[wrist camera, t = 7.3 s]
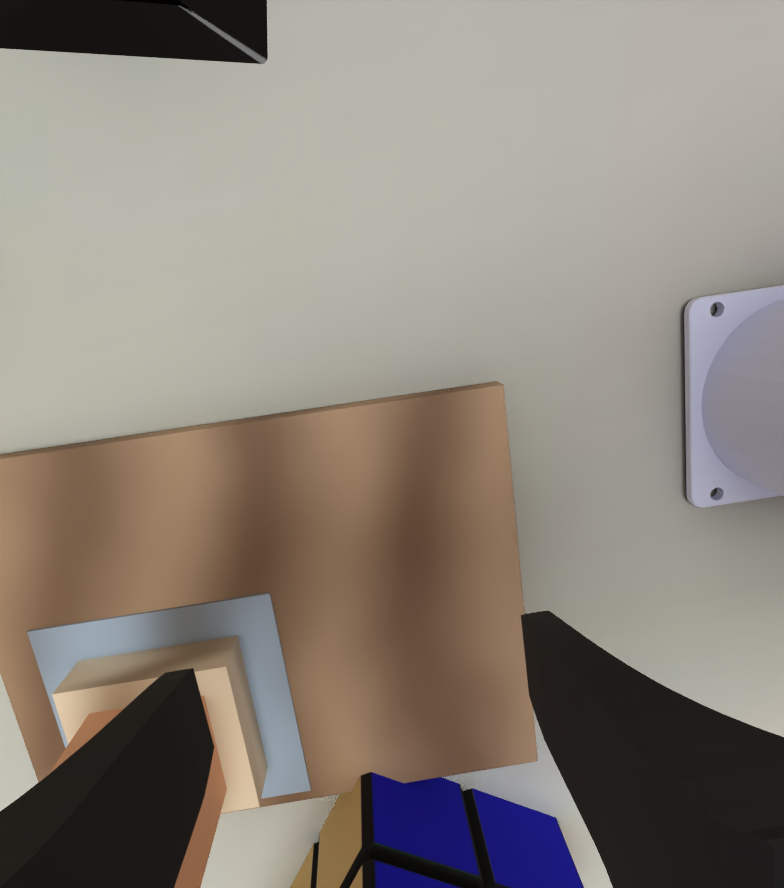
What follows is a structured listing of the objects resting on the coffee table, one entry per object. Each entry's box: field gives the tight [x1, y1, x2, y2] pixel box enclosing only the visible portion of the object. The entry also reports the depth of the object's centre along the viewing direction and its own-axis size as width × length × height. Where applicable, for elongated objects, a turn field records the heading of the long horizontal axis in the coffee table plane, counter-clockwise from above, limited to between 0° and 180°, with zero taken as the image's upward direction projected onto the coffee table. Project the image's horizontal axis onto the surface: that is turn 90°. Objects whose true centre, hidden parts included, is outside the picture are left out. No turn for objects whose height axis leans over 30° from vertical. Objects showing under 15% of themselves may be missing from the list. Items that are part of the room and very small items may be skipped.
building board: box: [0, 382, 538, 814], centre depth 21 cm, size 20×16×3 cm
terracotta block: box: [48, 696, 227, 888], centre depth 17 cm, size 4×4×5 cm
